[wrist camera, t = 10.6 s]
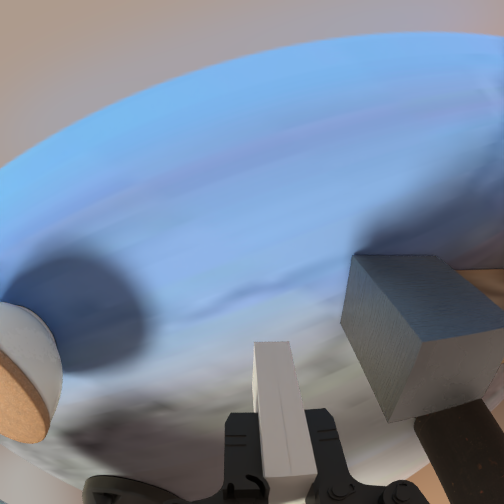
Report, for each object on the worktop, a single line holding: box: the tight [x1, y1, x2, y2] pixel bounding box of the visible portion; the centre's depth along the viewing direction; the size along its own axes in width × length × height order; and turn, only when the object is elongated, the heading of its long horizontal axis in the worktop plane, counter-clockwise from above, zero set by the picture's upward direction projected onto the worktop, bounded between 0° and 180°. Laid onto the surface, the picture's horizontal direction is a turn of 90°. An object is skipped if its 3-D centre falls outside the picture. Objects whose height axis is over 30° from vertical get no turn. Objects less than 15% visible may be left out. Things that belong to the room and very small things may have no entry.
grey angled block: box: [340, 255, 504, 423], centre depth 17 cm, size 7×5×9 cm
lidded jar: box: [0, 302, 63, 444], centre depth 17 cm, size 11×11×9 cm
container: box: [414, 398, 504, 504], centre depth 19 cm, size 9×9×20 cm
